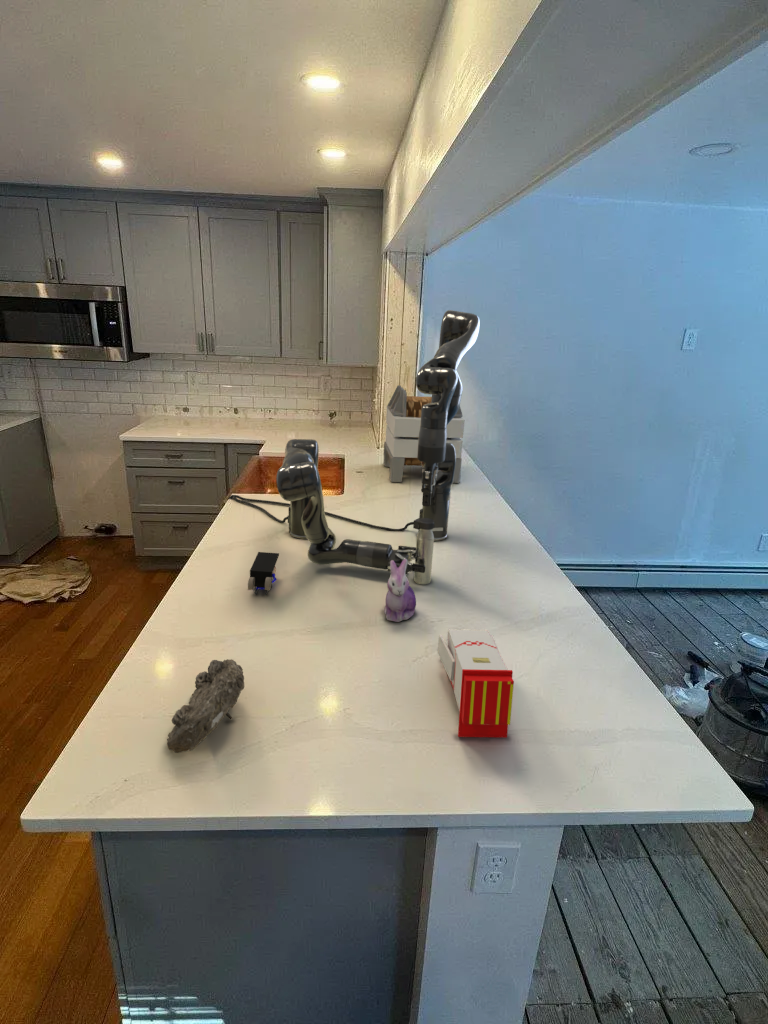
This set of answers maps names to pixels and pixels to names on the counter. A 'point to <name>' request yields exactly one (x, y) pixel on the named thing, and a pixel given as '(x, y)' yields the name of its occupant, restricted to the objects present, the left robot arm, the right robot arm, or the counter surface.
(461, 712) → the toy
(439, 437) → the right robot arm
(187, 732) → the fossil
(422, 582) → the bottle
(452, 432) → the grey wooden crate
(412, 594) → the figurine
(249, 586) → the black toy truck
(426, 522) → the cap
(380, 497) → the counter surface
